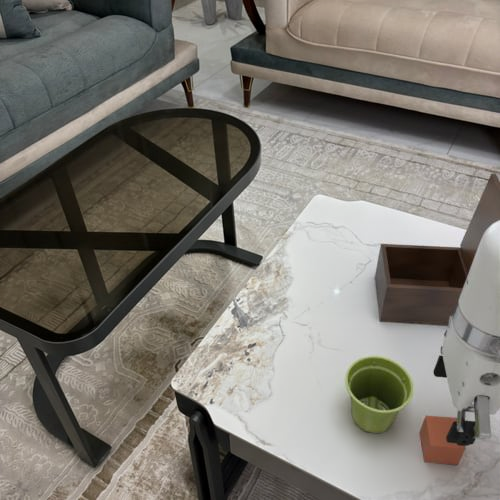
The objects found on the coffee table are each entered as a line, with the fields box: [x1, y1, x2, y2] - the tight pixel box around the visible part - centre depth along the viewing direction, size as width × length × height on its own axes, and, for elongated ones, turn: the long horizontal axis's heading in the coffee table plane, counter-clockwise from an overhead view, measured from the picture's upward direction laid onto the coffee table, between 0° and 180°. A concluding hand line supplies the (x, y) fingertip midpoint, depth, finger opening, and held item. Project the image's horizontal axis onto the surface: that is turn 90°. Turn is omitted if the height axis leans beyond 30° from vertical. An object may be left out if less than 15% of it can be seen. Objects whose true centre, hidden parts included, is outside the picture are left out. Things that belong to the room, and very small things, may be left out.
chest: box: [374, 243, 469, 327], centre depth 91 cm, size 15×12×9 cm
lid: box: [459, 173, 500, 271], centre depth 82 cm, size 16×12×5 cm
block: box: [419, 415, 467, 466], centre depth 71 cm, size 5×5×5 cm
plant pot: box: [344, 355, 414, 434], centre depth 74 cm, size 9×9×9 cm
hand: (451, 406), depth 66 cm, fingers open, 9 cm apart
